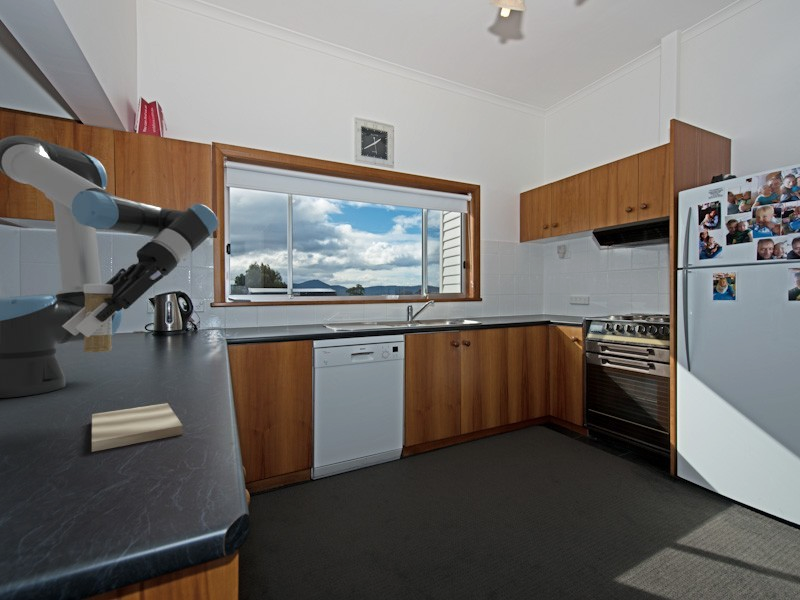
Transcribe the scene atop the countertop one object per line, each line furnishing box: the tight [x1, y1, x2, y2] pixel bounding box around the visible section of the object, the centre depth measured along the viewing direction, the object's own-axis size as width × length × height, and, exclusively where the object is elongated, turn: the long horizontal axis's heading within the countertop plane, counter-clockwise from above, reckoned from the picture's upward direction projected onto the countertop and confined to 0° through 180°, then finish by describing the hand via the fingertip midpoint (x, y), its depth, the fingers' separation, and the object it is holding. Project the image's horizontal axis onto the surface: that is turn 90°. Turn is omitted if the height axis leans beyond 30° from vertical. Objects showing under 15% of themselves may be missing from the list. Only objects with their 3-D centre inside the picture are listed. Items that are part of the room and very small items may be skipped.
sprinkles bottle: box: [83, 283, 113, 354], centre depth 76 cm, size 5×5×13 cm
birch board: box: [91, 402, 184, 453], centre depth 68 cm, size 17×12×2 cm
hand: (75, 331), depth 73 cm, fingers closed on sprinkles bottle, 4 cm apart
